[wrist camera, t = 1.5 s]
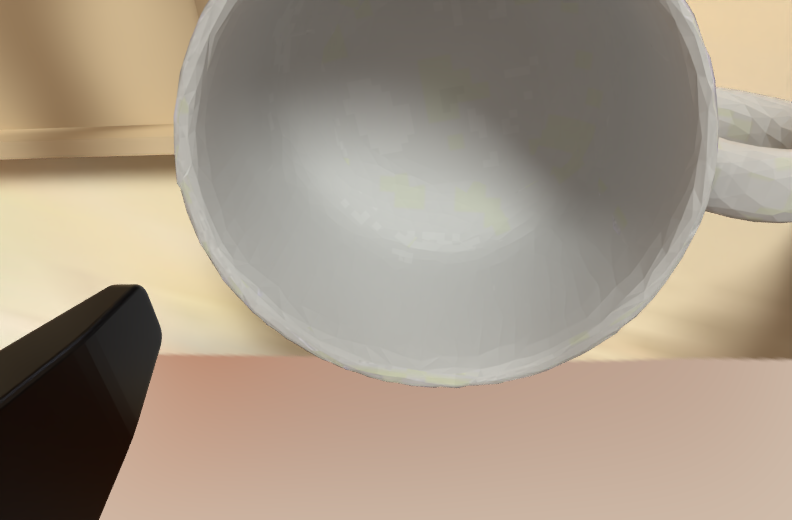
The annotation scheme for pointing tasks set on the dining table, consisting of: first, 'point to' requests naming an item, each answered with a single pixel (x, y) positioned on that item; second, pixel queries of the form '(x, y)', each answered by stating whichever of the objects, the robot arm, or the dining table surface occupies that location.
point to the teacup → (462, 172)
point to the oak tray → (91, 76)
